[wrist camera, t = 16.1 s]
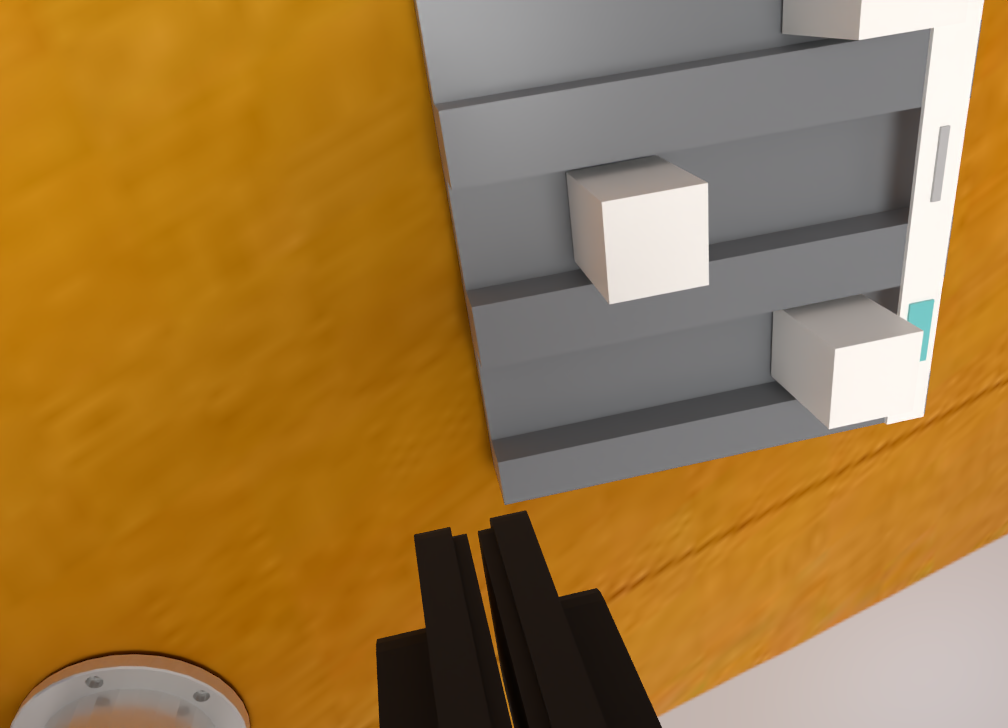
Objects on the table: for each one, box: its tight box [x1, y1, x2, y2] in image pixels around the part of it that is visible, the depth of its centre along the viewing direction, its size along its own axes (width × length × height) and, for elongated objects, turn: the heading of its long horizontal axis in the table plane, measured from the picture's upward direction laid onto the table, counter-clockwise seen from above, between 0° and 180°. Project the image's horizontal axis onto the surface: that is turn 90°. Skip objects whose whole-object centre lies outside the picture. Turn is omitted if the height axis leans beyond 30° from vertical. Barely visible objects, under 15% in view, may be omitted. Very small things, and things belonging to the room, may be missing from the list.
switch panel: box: [414, 0, 984, 505], centre depth 33 cm, size 26×22×4 cm
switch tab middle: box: [566, 156, 709, 304], centre depth 30 cm, size 4×4×5 cm
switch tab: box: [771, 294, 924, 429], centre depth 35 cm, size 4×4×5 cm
